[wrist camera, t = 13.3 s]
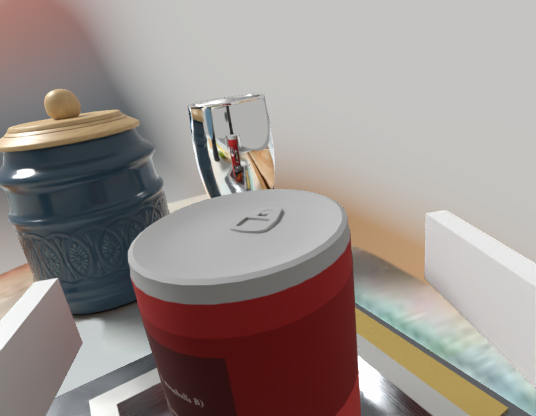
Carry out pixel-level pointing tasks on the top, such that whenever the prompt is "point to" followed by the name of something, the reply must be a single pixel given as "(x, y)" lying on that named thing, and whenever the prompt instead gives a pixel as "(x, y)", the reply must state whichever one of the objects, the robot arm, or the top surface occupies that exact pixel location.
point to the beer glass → (233, 144)
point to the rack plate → (370, 383)
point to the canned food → (251, 305)
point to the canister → (81, 198)
